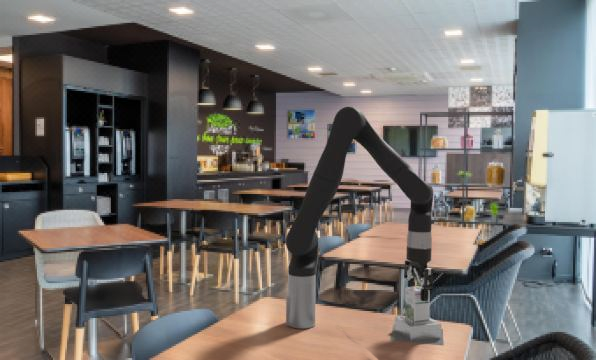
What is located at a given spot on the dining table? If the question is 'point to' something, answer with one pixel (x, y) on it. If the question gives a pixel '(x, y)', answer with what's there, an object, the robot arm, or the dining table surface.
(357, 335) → the dining table surface
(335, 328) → the dining table surface
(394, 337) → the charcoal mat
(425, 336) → the metal sleeve
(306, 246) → the robot arm
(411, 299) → the syrup box
